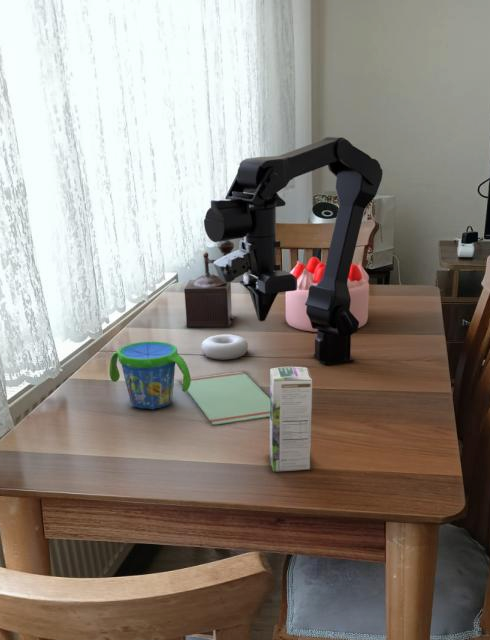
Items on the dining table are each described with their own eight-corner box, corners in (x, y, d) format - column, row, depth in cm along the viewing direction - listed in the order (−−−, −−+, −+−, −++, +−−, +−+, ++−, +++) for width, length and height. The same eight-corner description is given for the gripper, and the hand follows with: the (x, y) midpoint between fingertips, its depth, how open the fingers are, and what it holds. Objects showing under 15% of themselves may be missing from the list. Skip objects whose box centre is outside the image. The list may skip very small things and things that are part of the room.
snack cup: (203, 400, 143) (200, 347, 138) (170, 420, 135) (166, 364, 130) (135, 387, 150) (130, 336, 145) (100, 405, 142) (93, 352, 137)
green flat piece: (242, 372, 156) (242, 371, 156) (284, 414, 136) (284, 413, 136) (179, 380, 153) (179, 379, 153) (213, 425, 132) (212, 424, 132)
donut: (196, 361, 164) (243, 362, 162) (195, 345, 162) (242, 346, 160) (208, 347, 172) (252, 347, 170) (207, 331, 171) (252, 332, 169)
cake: (278, 331, 181) (278, 269, 175) (293, 309, 198) (293, 252, 192) (363, 335, 177) (365, 271, 171) (371, 312, 194) (373, 253, 188)
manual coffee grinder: (231, 327, 185) (229, 250, 177) (185, 328, 185) (180, 250, 177) (237, 310, 199) (234, 238, 190) (194, 311, 199) (189, 238, 191)
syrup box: (268, 456, 121) (267, 367, 114) (306, 454, 121) (307, 365, 115) (272, 472, 116) (271, 380, 109) (312, 470, 116) (313, 378, 110)
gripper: (199, 230, 144) (204, 314, 151) (238, 247, 128) (240, 339, 135) (255, 225, 147) (256, 307, 155) (298, 241, 132) (298, 331, 139)
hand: (261, 320), depth 146 cm, fingers closed
